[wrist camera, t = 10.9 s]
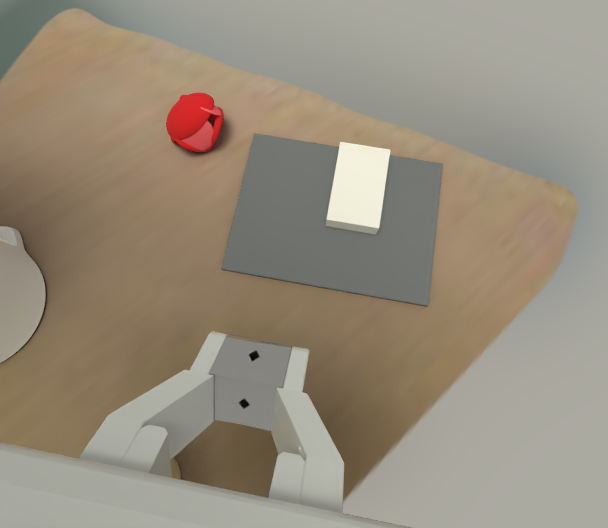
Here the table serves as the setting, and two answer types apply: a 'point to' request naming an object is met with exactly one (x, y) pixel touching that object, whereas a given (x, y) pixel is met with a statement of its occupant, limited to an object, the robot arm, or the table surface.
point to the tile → (358, 188)
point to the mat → (328, 240)
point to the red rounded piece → (195, 122)
